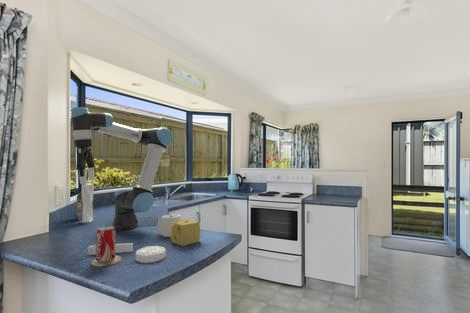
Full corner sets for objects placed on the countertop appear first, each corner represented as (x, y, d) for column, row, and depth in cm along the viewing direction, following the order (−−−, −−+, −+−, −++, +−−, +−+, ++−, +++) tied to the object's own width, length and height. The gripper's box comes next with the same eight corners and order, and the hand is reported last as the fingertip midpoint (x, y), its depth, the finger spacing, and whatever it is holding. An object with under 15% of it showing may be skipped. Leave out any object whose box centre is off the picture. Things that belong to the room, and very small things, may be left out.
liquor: (85, 216, 200) (85, 176, 201) (95, 217, 197) (95, 176, 198) (74, 219, 192) (74, 177, 192) (84, 220, 189) (84, 177, 189)
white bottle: (82, 221, 185) (82, 180, 186) (95, 220, 187) (95, 180, 187) (78, 224, 177) (78, 181, 177) (91, 223, 178) (91, 181, 179)
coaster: (116, 254, 116) (116, 253, 116) (125, 261, 108) (125, 260, 108) (88, 261, 109) (88, 260, 109) (95, 268, 101) (95, 267, 101)
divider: (133, 250, 121) (132, 242, 121) (132, 251, 120) (132, 243, 120) (89, 254, 117) (89, 245, 117) (88, 254, 116) (88, 246, 116)
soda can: (91, 263, 105) (91, 229, 105) (103, 256, 112) (103, 225, 112) (108, 264, 104) (108, 230, 104) (119, 257, 111) (119, 226, 111)
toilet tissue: (182, 235, 144) (182, 217, 145) (159, 238, 141) (159, 218, 141) (180, 231, 155) (180, 213, 155) (158, 233, 151) (158, 215, 151)
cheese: (170, 242, 133) (170, 222, 134) (188, 237, 141) (188, 218, 141) (182, 246, 126) (182, 225, 126) (200, 241, 134) (200, 221, 134)
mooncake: (153, 251, 121) (153, 243, 121) (171, 256, 114) (171, 247, 114) (129, 259, 111) (129, 250, 111) (147, 265, 104) (147, 256, 104)
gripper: (82, 140, 145) (87, 179, 146) (64, 138, 120) (70, 185, 121) (98, 139, 146) (102, 178, 147) (83, 137, 122) (88, 183, 123)
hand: (88, 181), depth 134 cm, fingers open, 13 cm apart
